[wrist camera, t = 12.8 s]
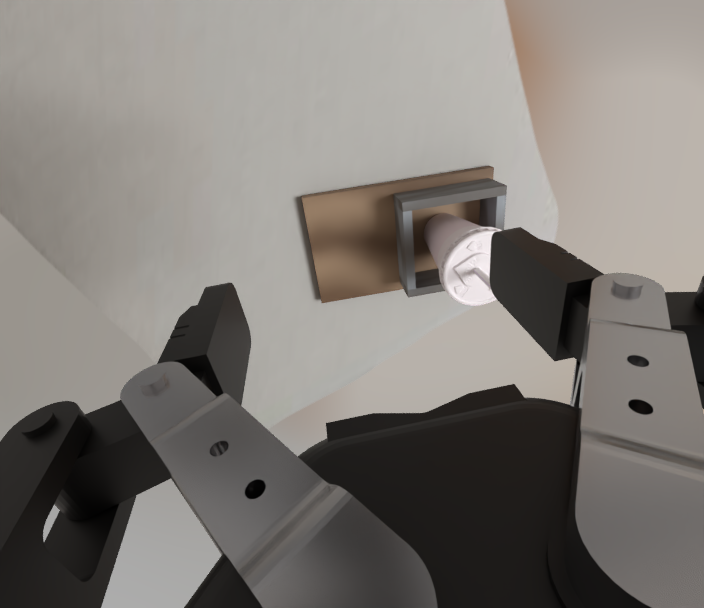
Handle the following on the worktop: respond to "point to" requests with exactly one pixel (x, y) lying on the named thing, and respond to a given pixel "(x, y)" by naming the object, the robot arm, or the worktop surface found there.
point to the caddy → (393, 230)
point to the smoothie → (461, 257)
